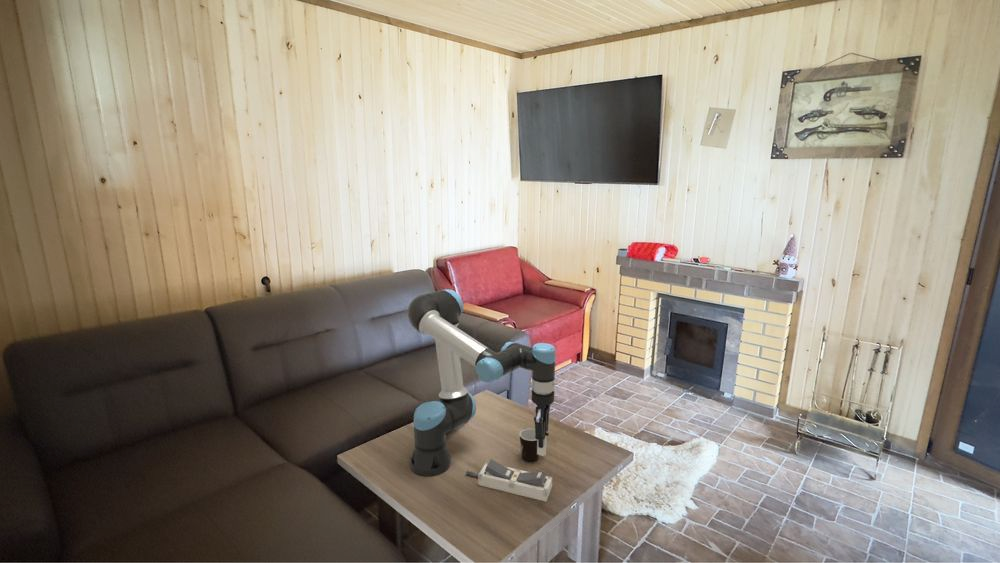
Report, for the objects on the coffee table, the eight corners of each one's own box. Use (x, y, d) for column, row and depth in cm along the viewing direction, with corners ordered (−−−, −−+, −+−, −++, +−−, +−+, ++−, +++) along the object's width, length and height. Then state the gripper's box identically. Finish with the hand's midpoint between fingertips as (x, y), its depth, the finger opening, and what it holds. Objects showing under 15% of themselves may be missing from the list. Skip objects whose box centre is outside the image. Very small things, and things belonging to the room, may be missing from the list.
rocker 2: (518, 485, 164) (516, 480, 163) (522, 477, 168) (520, 472, 168) (542, 484, 160) (540, 478, 160) (546, 476, 164) (544, 470, 164)
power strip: (462, 481, 169) (462, 469, 168) (471, 468, 177) (471, 456, 176) (546, 501, 159) (546, 489, 158) (552, 487, 167) (552, 475, 165)
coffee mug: (539, 465, 179) (540, 441, 177) (517, 462, 181) (517, 439, 178) (543, 448, 190) (543, 426, 188) (522, 445, 192) (522, 423, 189)
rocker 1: (484, 470, 167) (486, 466, 166) (489, 463, 171) (491, 458, 171) (507, 483, 165) (509, 478, 164) (511, 475, 169) (513, 470, 169)
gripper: (549, 400, 148) (547, 467, 153) (558, 383, 160) (556, 446, 165) (526, 396, 151) (525, 462, 156) (537, 380, 163) (535, 442, 168)
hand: (541, 454), depth 160 cm, fingers closed
